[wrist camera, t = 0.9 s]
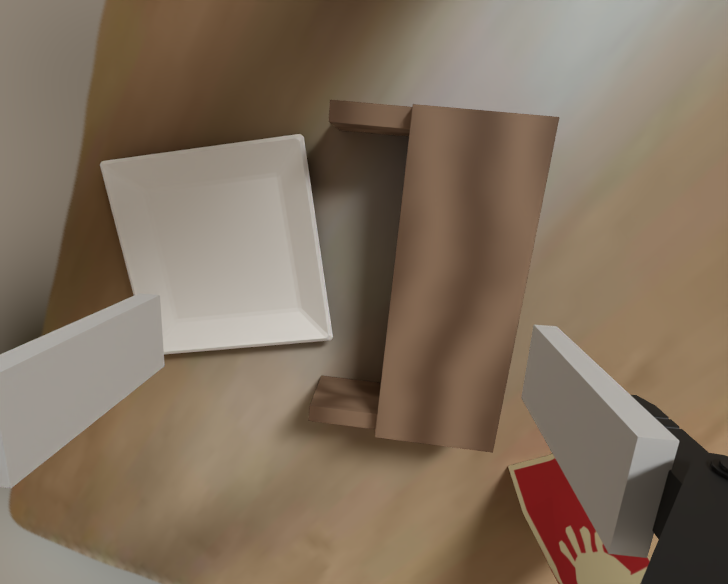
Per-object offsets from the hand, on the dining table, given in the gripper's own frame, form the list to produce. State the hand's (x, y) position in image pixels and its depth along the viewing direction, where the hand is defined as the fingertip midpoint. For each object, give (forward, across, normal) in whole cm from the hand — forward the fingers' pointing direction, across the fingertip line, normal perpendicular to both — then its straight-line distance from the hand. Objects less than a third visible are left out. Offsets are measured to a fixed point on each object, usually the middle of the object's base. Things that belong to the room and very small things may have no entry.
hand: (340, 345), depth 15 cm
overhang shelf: (+26, +4, -2) cm, 26 cm away
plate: (+26, -14, -2) cm, 30 cm away
